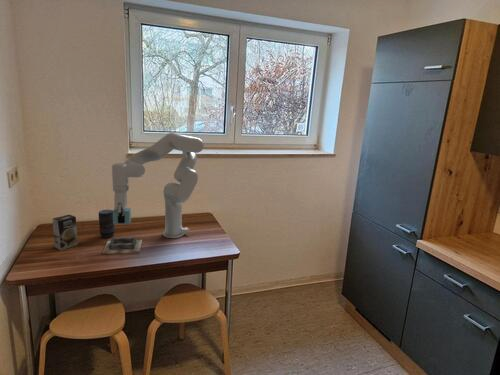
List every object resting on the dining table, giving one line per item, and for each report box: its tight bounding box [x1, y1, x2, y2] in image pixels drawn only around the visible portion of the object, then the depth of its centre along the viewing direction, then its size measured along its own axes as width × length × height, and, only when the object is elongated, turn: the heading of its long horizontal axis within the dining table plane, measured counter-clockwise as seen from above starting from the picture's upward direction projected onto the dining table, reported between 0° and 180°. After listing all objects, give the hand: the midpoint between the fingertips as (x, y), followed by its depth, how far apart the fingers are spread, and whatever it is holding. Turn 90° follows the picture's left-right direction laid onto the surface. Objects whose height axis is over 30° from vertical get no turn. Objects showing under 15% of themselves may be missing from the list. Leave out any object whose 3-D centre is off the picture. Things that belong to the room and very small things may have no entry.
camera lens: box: [98, 209, 116, 239], centre depth 188 cm, size 8×8×15 cm
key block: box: [112, 207, 132, 225], centre depth 173 cm, size 5×8×7 cm, turn 102°
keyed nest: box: [102, 237, 143, 255], centre depth 177 cm, size 18×14×4 cm
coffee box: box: [52, 214, 79, 251], centre depth 173 cm, size 9×6×16 cm
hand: (122, 220), depth 173 cm, fingers closed on key block, 5 cm apart
